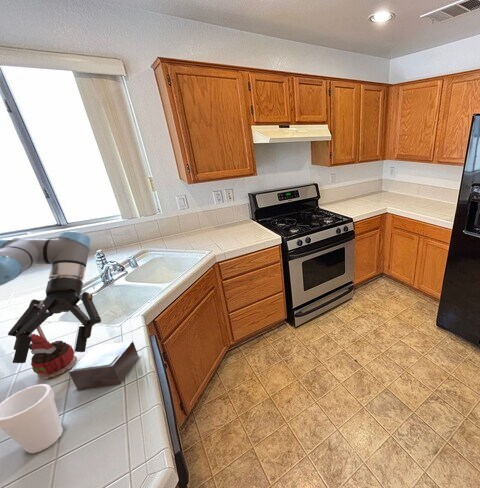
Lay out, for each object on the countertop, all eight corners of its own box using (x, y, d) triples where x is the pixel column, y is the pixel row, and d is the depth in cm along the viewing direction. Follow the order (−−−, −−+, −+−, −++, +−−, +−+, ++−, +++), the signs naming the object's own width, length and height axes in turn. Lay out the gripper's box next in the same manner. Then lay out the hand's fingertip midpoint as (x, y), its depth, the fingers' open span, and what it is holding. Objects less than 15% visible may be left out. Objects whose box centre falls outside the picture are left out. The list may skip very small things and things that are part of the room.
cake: (86, 357, 92) (66, 313, 85) (61, 379, 83) (37, 332, 77) (56, 358, 92) (35, 315, 86) (28, 380, 83) (1, 334, 77)
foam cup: (29, 431, 67) (6, 393, 63) (76, 414, 71) (56, 378, 66) (8, 469, 59) (-20, 428, 54) (62, 447, 63) (39, 408, 58)
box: (77, 390, 78) (68, 371, 76) (101, 362, 89) (93, 345, 86) (120, 383, 80) (112, 365, 77) (139, 357, 90) (132, 340, 88)
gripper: (120, 278, 83) (112, 348, 75) (27, 291, 78) (6, 368, 70) (106, 270, 77) (94, 345, 68) (3, 283, 72) (-24, 367, 63)
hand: (50, 357), depth 69 cm, fingers open, 13 cm apart
